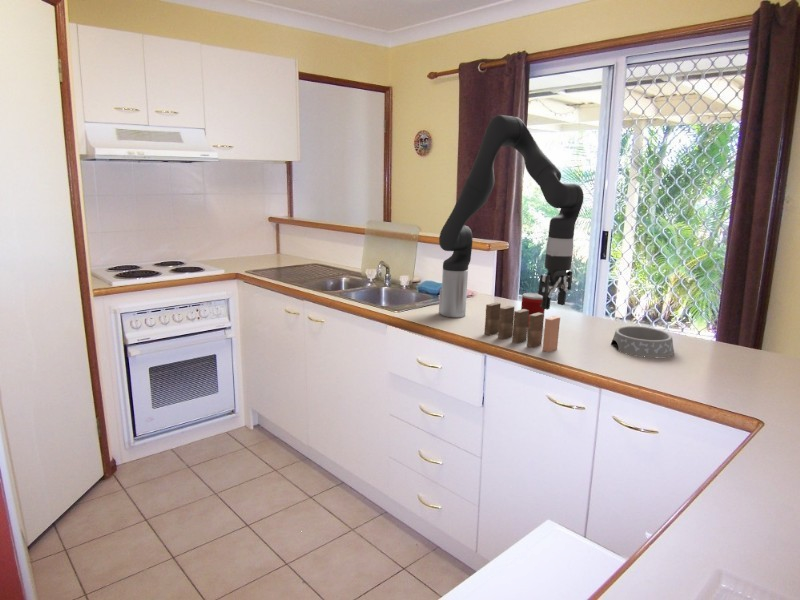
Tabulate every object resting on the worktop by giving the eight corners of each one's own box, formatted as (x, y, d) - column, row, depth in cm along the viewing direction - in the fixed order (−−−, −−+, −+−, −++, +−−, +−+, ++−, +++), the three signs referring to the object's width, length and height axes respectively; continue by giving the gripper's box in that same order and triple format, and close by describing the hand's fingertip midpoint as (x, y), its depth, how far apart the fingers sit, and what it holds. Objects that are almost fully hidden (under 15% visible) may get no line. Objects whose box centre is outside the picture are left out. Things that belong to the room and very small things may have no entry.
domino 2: (497, 337, 176) (500, 307, 174) (507, 335, 179) (509, 305, 177) (503, 339, 174) (505, 309, 172) (512, 336, 178) (514, 306, 176)
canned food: (542, 329, 187) (545, 298, 184) (518, 327, 189) (521, 296, 187) (544, 324, 194) (546, 294, 191) (521, 321, 196) (523, 291, 194)
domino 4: (526, 346, 168) (529, 314, 166) (535, 343, 171) (538, 312, 169) (532, 347, 167) (535, 316, 164) (541, 344, 170) (544, 313, 168)
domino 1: (484, 333, 180) (486, 304, 177) (493, 331, 183) (495, 302, 181) (489, 335, 178) (491, 305, 176) (498, 332, 182) (500, 303, 179)
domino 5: (542, 350, 164) (545, 318, 162) (551, 347, 168) (554, 315, 165) (548, 352, 163) (551, 320, 161) (557, 348, 166) (560, 317, 164)
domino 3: (512, 341, 172) (514, 311, 170) (521, 338, 175) (523, 308, 173) (517, 343, 171) (519, 312, 168) (526, 340, 174) (529, 310, 172)
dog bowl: (625, 358, 160) (627, 340, 159) (603, 339, 178) (605, 323, 177) (683, 360, 160) (686, 342, 159) (655, 341, 178) (658, 325, 177)
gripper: (560, 249, 166) (555, 300, 170) (534, 253, 156) (529, 307, 160) (583, 252, 160) (576, 305, 164) (557, 257, 151) (551, 313, 155)
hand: (553, 306), depth 162 cm, fingers open, 8 cm apart
